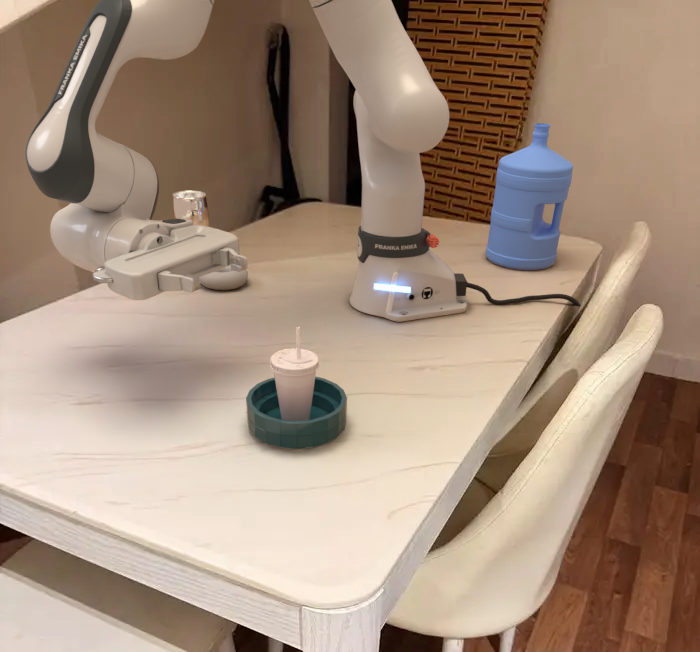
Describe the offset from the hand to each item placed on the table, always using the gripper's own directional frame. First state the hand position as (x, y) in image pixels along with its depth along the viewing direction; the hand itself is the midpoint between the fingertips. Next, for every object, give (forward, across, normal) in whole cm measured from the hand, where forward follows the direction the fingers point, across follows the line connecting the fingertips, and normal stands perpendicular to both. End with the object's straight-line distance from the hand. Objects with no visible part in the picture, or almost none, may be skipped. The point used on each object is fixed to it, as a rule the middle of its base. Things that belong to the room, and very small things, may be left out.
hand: (220, 274), depth 91 cm
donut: (-32, +36, +19) cm, 52 cm away
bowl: (+12, 0, +19) cm, 22 cm away
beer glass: (-43, +40, +19) cm, 62 cm away
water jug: (+11, +88, +20) cm, 90 cm away
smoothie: (+12, 0, +18) cm, 22 cm away
